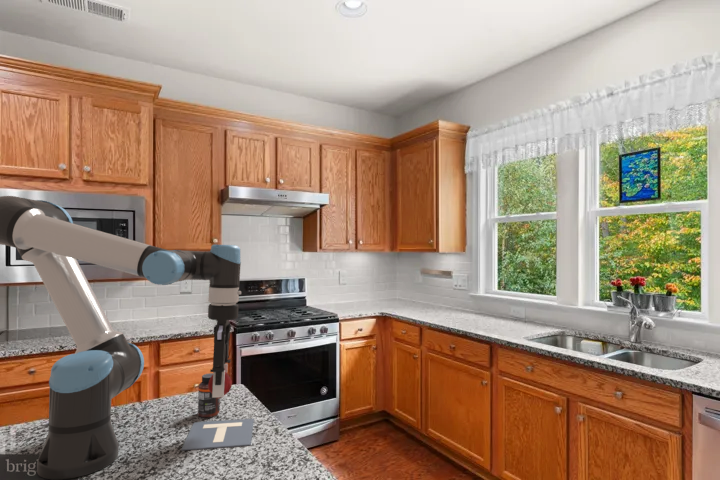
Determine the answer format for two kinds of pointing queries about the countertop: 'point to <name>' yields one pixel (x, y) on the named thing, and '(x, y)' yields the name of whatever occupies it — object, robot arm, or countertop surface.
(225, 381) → the onion
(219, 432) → the letter card
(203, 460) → the countertop surface
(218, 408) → the supplement bottle
